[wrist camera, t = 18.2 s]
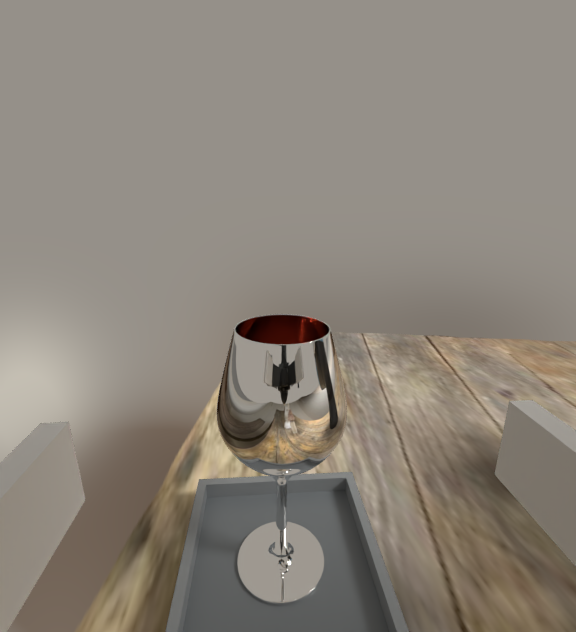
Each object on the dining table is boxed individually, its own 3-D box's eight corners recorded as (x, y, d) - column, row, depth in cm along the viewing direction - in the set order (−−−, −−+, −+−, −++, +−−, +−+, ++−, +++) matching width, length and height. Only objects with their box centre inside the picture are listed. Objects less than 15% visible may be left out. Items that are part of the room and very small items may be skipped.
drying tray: (350, 491, 34) (351, 471, 33) (411, 675, 20) (415, 649, 20) (200, 499, 33) (199, 479, 32) (160, 700, 19) (156, 672, 19)
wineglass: (229, 516, 30) (220, 310, 25) (326, 511, 30) (335, 308, 25) (219, 625, 22) (202, 355, 17) (349, 615, 23) (370, 352, 17)
